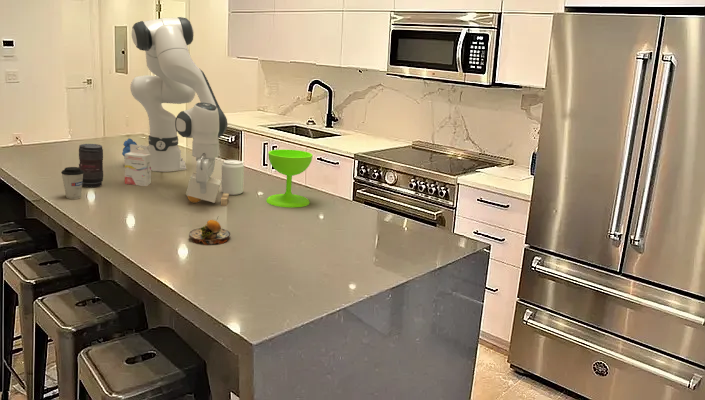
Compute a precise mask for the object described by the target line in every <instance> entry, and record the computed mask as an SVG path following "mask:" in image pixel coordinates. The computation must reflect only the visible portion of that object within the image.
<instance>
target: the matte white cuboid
mask: <svg viewBox="0 0 705 400" xmlns="http://www.w3.org/2000/svg"><path fill="white" fill-rule="evenodd" d="M221 180H222V179H219V178H214V177H211V176H210V178H209V180H208V182H207V183H206V193H205V194H201V192H200V183H197V182H196V172H193V173H192V174H191V176H190V177H189V180H188V184H187V185H188V186H187V188H186V192H185V196H187V195H188V196H191V197H195V198H199V199H201V200H203V201H206V202H210V203H213V204H214V203H216V201H217V198H218V195H219V190H220V189H221ZM188 196H187V197H188Z"/></svg>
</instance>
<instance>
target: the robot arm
mask: <svg viewBox="0 0 705 400" xmlns="http://www.w3.org/2000/svg"><path fill="white" fill-rule="evenodd" d="M194 33H195V31H194V27H193V25H192V23H191V21H190V20H189V19H188V18H187V17H182V16H181V17H180V16H179V17H163V18H162V17H161V18H154V19H150V20H145V21H143V20H141V21H138V22H135V23H133V26H132V29H131V39H132V42H133V44H134V45H135V47H136V48H137V49H139V50H140V51H142V52H143V51H145V52H144V53H145V61H146V66H147V69H148V70H149V72H151V73H152V74H153V75H152V74H151V75H149V74H146V75H138V76H134V78H133V79H132V81H131V83H130V87H129V88H130V93H131V96H132V97H133V99H135V100H136V101H137V102H138V103H140V105H142V107H143V109H144V110H145V112H146V113H147V117H148V125H149V126H148V127H149V135H148V139H147V140H148V146H150V154H151V172H175V171H176V172H177V171H185V170H187V167H186V162H185V160H183V158H182V154H181V153H182V150H181V149H180V147H179V136H178V135H180V136H181V138H186V139H192V145H191V146H192V147H191V148H192V149H191V152H192V153H191V154H192V155H191V156H192V157H194V158H195V161H196V170H195V173H196V182H197V183H200V192H201V194H205V193H206V183H207V182H208V180H209V178H210V177H211V176H212V175H213V173H214V172H215V171H214V170H215V164H216V158H218V157H220V155H219V154H220V153H219V152H220V151H219V150H220V140H219V138H221V137H222V136H223V135H224V134H225V132H226V131H227V129H228V118H227V116H226V115H225V112H224V111H223V110H222V109H221V107H220V105H219V103H218V101H217V99H216V96H215V94H214V91H213V89H212V86H211V84H210V83H209V81H208V77H207V76H206V75H205V72H204V71H203V70H202V69H201V68H199V67H198V65H196V63H195V62H194V60H193V58H192V57H191V55H190V50H189V48H188V46H189V45H191V44H192V43H193V41H194ZM196 95H197V97H198V100H199V101H200V102H196V103H195V104H194V105H193V107H191V108H189V109H185V110H181V111H180V112H179V113H178V114H177V115H176V116H175V115H174V114H173V113H171V112H170V111H168V110H166V109H165V108H164V107H163V104H178V105H181V104H187V103H188V104H189V103H191V102H192V101H193V99H194V98H195V96H196Z"/></svg>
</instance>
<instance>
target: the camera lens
mask: <svg viewBox="0 0 705 400" xmlns="http://www.w3.org/2000/svg"><path fill="white" fill-rule="evenodd" d="M78 160H79V163H78V167H79V168H80V170H83V172H84V173H83V181H82V188H83V187H84V188H98V187H101V186H102V185H103V180H104V167H103V166H104V165H103V164H104V149H103V145H102V144H99V143H98V144H97V143H83V144H82V143H81V144H79V147H78Z"/></svg>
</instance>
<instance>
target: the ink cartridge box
mask: <svg viewBox="0 0 705 400" xmlns="http://www.w3.org/2000/svg"><path fill="white" fill-rule="evenodd" d="M151 183H152V170H151V154H150V146H149V145H143V144H137V145H133V144H130V152H129V153H126V154H125V159H124V184H125V185H131V186H132V185H133V186H139V187H147V186H148V185H150V184H151Z"/></svg>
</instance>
